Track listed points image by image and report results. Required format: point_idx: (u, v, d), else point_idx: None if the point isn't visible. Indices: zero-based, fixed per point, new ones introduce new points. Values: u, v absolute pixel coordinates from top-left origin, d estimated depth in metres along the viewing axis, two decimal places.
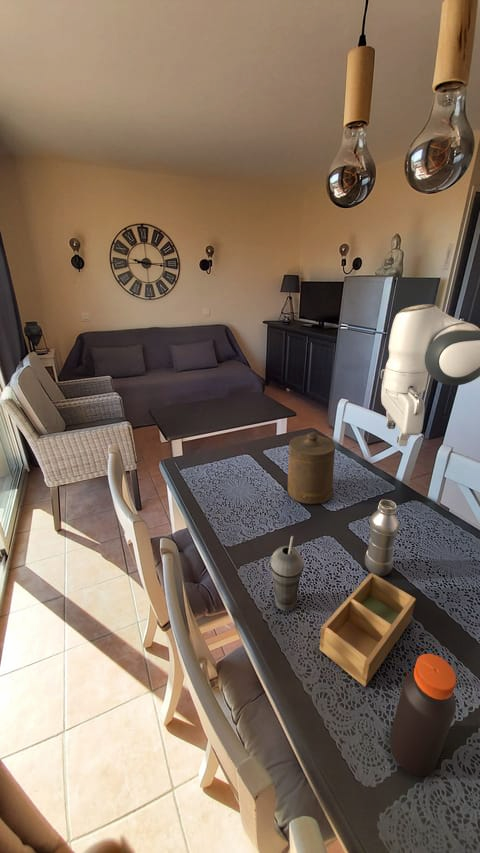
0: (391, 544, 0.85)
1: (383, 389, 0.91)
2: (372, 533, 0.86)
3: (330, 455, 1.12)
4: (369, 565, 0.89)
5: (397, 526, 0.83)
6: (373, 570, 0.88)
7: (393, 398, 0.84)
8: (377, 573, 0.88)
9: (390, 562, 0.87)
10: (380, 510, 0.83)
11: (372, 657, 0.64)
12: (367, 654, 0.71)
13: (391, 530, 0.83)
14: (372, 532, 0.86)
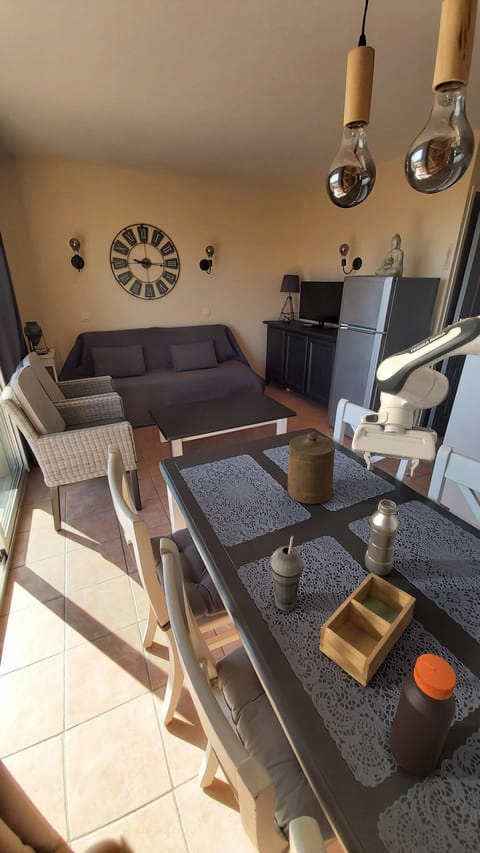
0: (391, 544, 0.85)
1: (360, 434, 0.97)
2: (372, 533, 0.86)
3: (330, 455, 1.12)
4: (369, 565, 0.89)
5: (397, 526, 0.83)
6: (373, 570, 0.88)
7: (389, 437, 0.95)
8: (377, 573, 0.88)
9: (390, 562, 0.87)
10: (380, 510, 0.83)
11: (372, 657, 0.64)
12: (367, 654, 0.71)
13: (391, 530, 0.83)
14: (372, 532, 0.86)
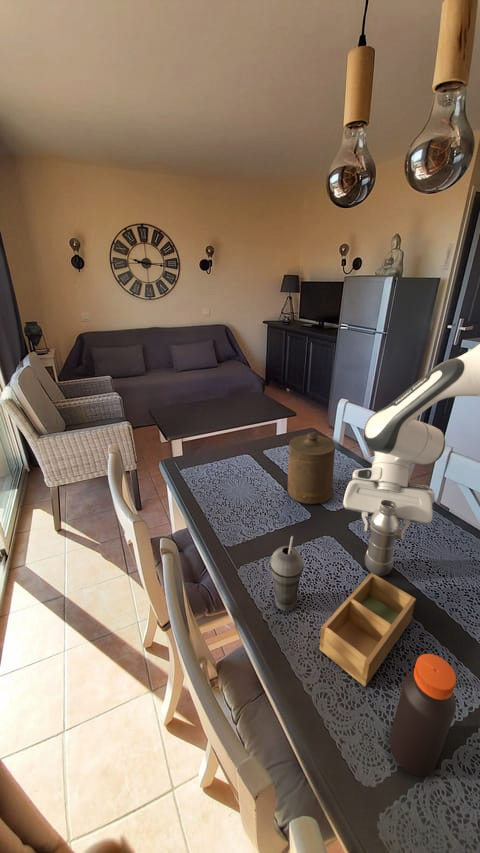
0: (391, 544, 0.85)
1: (352, 490, 0.90)
2: (372, 533, 0.86)
3: (330, 455, 1.12)
4: (369, 565, 0.89)
5: (397, 526, 0.83)
6: (373, 570, 0.88)
7: (382, 495, 0.88)
8: (377, 573, 0.88)
9: (390, 562, 0.87)
10: (380, 510, 0.83)
11: (372, 657, 0.64)
12: (367, 654, 0.71)
13: (392, 530, 0.83)
14: (372, 532, 0.86)
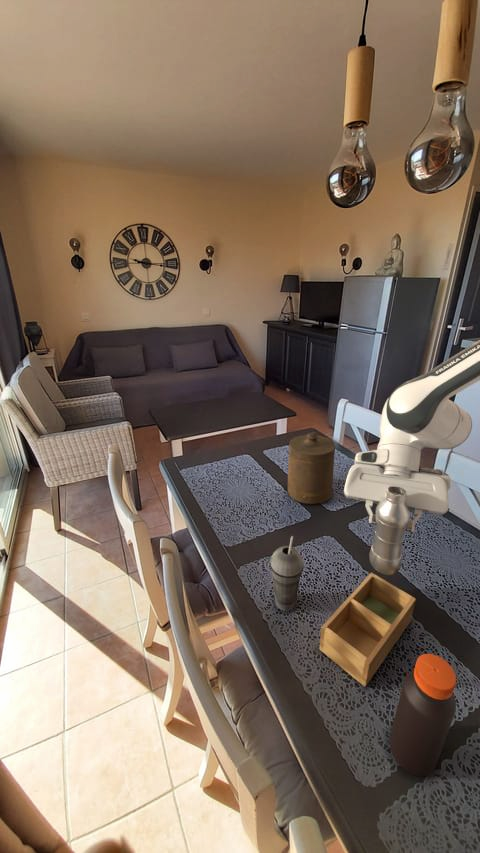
0: (400, 538, 0.73)
1: (354, 476, 0.78)
2: (378, 525, 0.74)
3: (330, 455, 1.12)
4: (374, 562, 0.77)
5: (408, 516, 0.71)
6: (379, 568, 0.76)
7: (390, 481, 0.76)
8: (384, 571, 0.76)
9: (399, 559, 0.75)
10: (388, 498, 0.71)
11: (372, 657, 0.64)
12: (367, 654, 0.71)
13: (401, 521, 0.70)
14: (378, 524, 0.74)
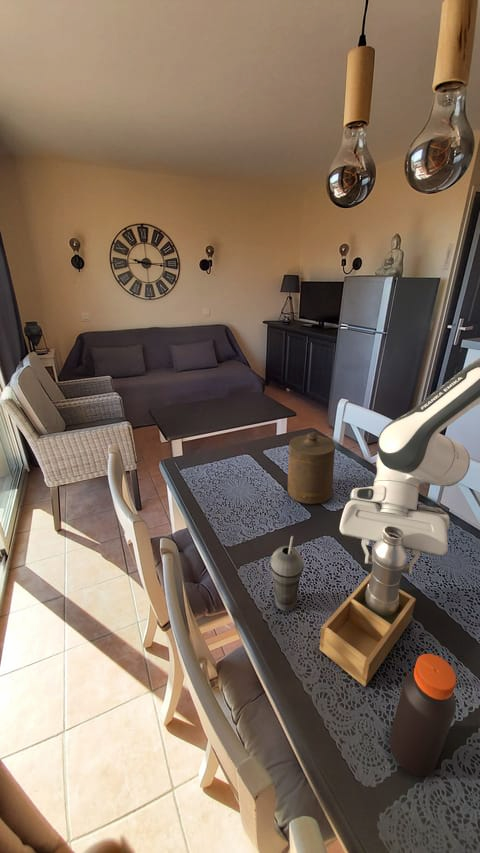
0: (397, 580, 0.70)
1: (350, 513, 0.75)
2: (374, 566, 0.71)
3: (330, 455, 1.12)
4: (370, 602, 0.74)
5: (405, 559, 0.68)
6: (375, 609, 0.74)
7: (387, 520, 0.73)
8: (380, 613, 0.73)
9: (396, 600, 0.73)
10: (384, 539, 0.69)
11: (372, 657, 0.64)
12: (367, 654, 0.71)
13: (398, 564, 0.68)
14: (374, 565, 0.71)
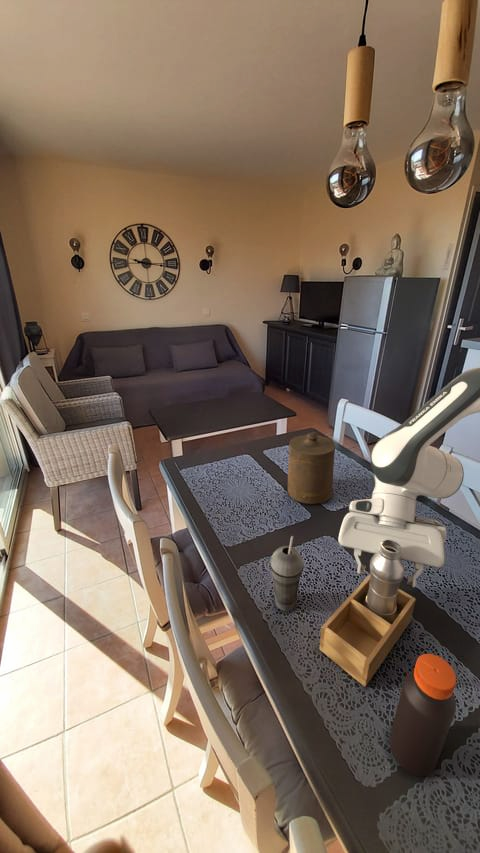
0: (395, 592, 0.72)
1: (349, 525, 0.77)
2: (372, 578, 0.73)
3: (330, 455, 1.12)
4: None
5: (402, 572, 0.70)
6: None
7: (385, 532, 0.75)
8: None
9: (393, 612, 0.74)
10: (382, 553, 0.70)
11: (372, 657, 0.64)
12: (367, 654, 0.71)
13: (395, 577, 0.69)
14: (372, 577, 0.72)
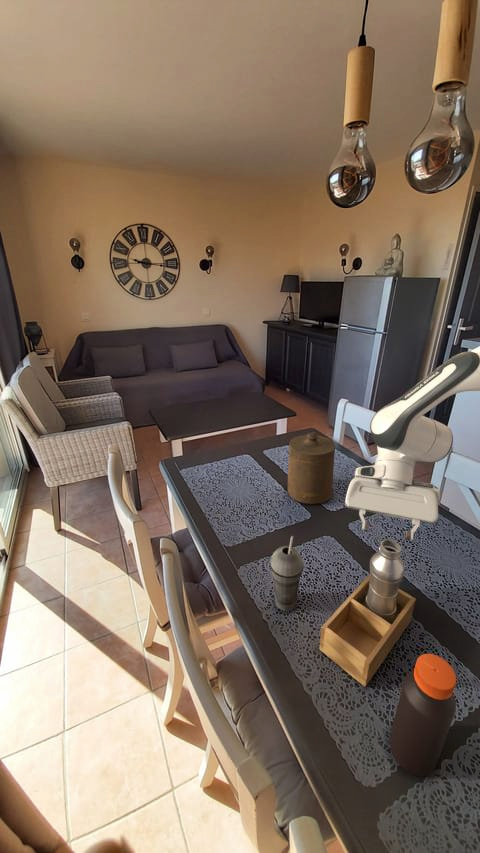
0: (395, 592, 0.72)
1: (354, 488, 0.87)
2: (372, 578, 0.73)
3: (330, 455, 1.12)
4: None
5: (402, 572, 0.70)
6: None
7: (386, 494, 0.85)
8: None
9: (393, 612, 0.74)
10: (382, 553, 0.70)
11: (372, 657, 0.64)
12: (367, 654, 0.71)
13: (395, 577, 0.69)
14: (372, 577, 0.72)
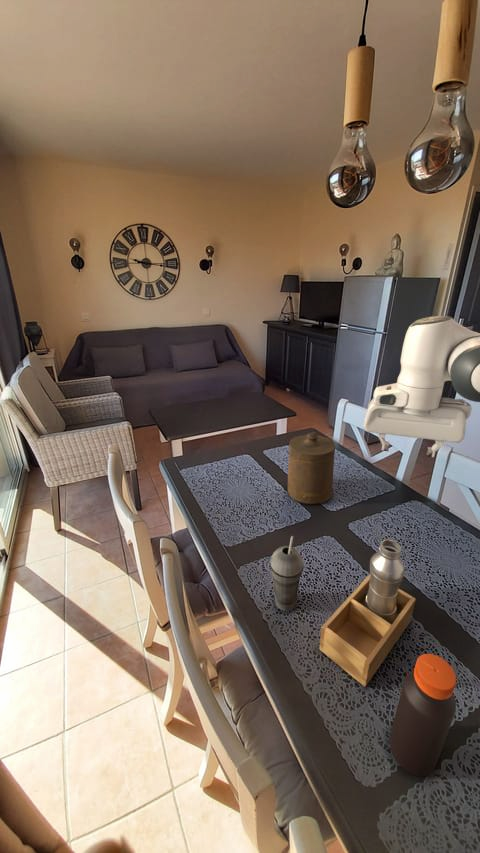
0: (395, 592, 0.72)
1: (373, 415, 0.80)
2: (372, 578, 0.73)
3: (330, 455, 1.12)
4: None
5: (402, 572, 0.70)
6: None
7: (408, 417, 0.78)
8: None
9: (393, 612, 0.74)
10: (382, 553, 0.70)
11: (372, 657, 0.64)
12: (367, 654, 0.71)
13: (395, 577, 0.69)
14: (372, 577, 0.72)
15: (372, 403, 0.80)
